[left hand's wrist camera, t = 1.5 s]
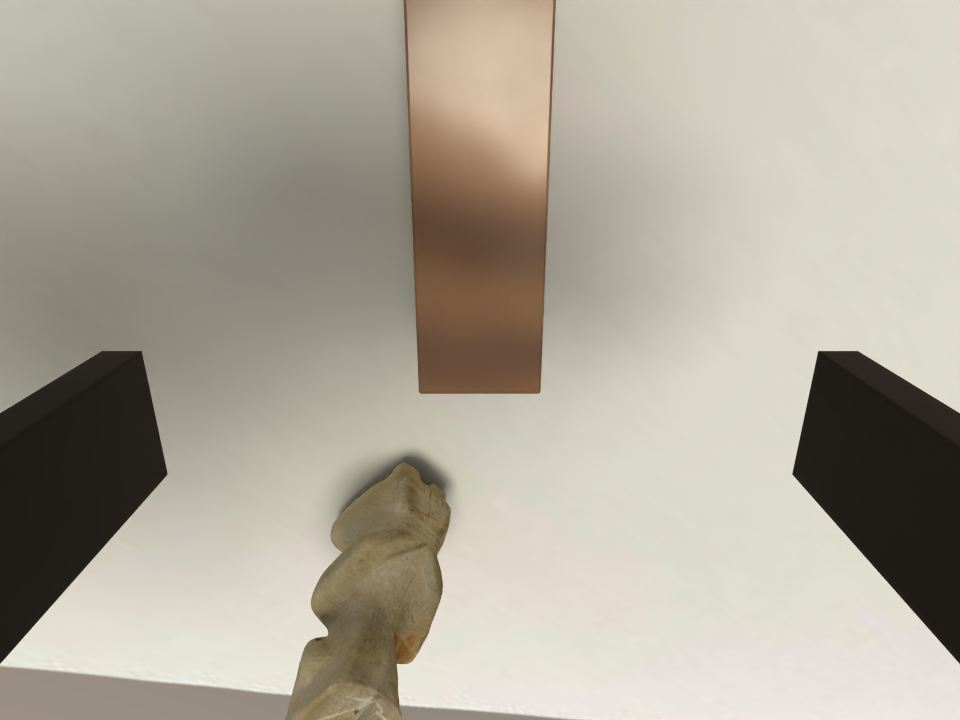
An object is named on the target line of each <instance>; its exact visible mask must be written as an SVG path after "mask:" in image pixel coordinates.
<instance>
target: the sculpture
mask: <svg viewBox="0 0 960 720" xmlns="http://www.w3.org/2000/svg"><path fill="white" fill-rule="evenodd" d="M450 513H451V511H450V507H449V505H448V504H447V502H446V501H445V494H444V492H443V491H442V490H441V489H440V488H439V487H438V486H436V485H435V484H434V483H430V484H427V485H426V484H424V483H423V482H422V480H421V477H420V474H419V472H418V470H417V469H415V468H414V467H412V466H411V465H409V464H407V463H405V462H402V463H400V464H399V465H397V466H396V467H395V468H394V469H393V471H392V473H391V474H390V475H389V476H388V477H387V478H386V479H384V480H382V481H381V482H379V483H377V484H375V485H373V486H372V487H371V488H369V489H368V490H367V491H366V492H364V493H363V494H362V495H361V496H360V497H358V498H357V499H356V500H355V501H354V502H353V503H351V504H350V505H349V506H348V507H347V508H346V509H345V511H344V512H343V513H342V514H341V515H340V516H339V517H338V519H337V520H336V521H335V523H334V524H333V526H332V530H331V540H332V542H333V544H334V545H335V547H336V548H338V549H339V550H340V551H342V552H343V553H342V554H341V555H340V556H339V557H338V558H337V559H336V560H335V561H334V562H333V563H332V564H331V565H330V566H329V567H328V568H327V569H326V571H325V572H324V573H323V575H322V576H321V577H320V579H319V581H318V583H317V585H316V587H315V590H314V592H313V595H312V599H311V608H312V610H313V612H314V614H315V615H316V616H317V617H318V618H319V620H320V621H321V622H322V623H323V624H324V625H325V627H326V628H327V629H328V636H327V637H319V638H315V639H312V640H310V641H309V642H308V643H307V645H306V646H305V648H304V651H303V654H302V658H301V661H300V664H299V669H298V674H297V678H296V681H295V685H294V689H293V692H292V696H291V700H290V705H289V709H288V713H287V717H286V719H285V720H401V717H402V715H401V711H400V709H399V697H398V674H397V664H408V663H410V662H412V661H413V660H414V658H415V657H416V655H417V654H418V652H419V650H420V648H421V646H422V644H423V642H424V641H425V639H426V637H427V635H428V633H429V630H430V627H431V623H432V621H433V619H434V616H435V613H436V611H437V608H438V605H439V603H440V600H441V596H442V589H443V582H442V575H441V570H440V566H439V563H438V559H437V554H438V552H439V550H440V548H441V547H442V545H443V542H444V539H445V536H446V534H447V530H448V527H449V522H450ZM396 663H397V664H396Z"/></svg>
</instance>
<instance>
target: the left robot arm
mask: <svg viewBox="0 0 960 720" xmlns="http://www.w3.org/2000/svg"><path fill="white" fill-rule="evenodd" d="M166 476H167V469H166V464H165V460H164V455H163V450H162V445H161V441H160V436H159V431H158V426H157V422H156V417H155V412H154V408H153V403H152V398H151V393H150V389H149V384H148V379H147V374H146V370H145V365H144V360H143V356H142V351H102V352H100V353H98V354H97V355H95V356H94V357H92V358H90V359H89V360H87V361H85V362H84V363H82V364H80V365H79V366H77V367H75V368H74V369H72V370H71V371H69V372H67V373H66V374H64V375H62V376H61V377H59V378H57V379H56V380H54V381H53V382H51V383H49V384H48V385H46V386H44V387H43V388H41V389H39V390H38V391H36V392H34V393H33V394H31V395H30V396H28V397H26V398H25V399H23V400H21V401H20V402H18V403H16V404H15V405H13V406H12V407H10V408H8V409H7V410H5V411H3V412H2V413H0V663H1V662H2V661H3V660H4V659H5V658H6V657H7V655H8V654H9V653H10V652H11V651H12V650H13V649H14V648H15V646H16V645H17V644H18V643H19V642H20V641H21V640H22V638H23V637H24V636H25V635H26V634H27V633H28V632H29V631H30V629H31V628H32V627H33V626H34V625H35V624H36V623H37V622H38V620H39V619H40V618H41V617H42V616H43V615H44V614H45V612H46V611H47V610H48V609H49V608H50V607H51V606H52V605H53V603H54V602H55V601H56V600H57V599H58V598H59V597H60V595H61V594H62V593H63V592H64V591H65V590H66V589H67V588H68V586H69V585H70V584H71V583H72V582H73V581H74V580H75V579H76V577H77V576H78V575H79V574H80V573H81V572H82V571H83V569H84V568H85V567H86V566H87V565H88V564H89V563H90V562H91V560H92V559H93V558H94V557H95V556H96V555H97V554H98V552H99V551H100V550H101V549H102V548H103V547H104V546H105V545H106V543H107V542H108V541H109V540H110V539H111V538H112V537H113V536H114V534H115V533H116V532H117V531H118V530H119V529H120V528H121V526H122V525H123V524H124V523H125V522H126V521H127V520H128V519H129V517H130V516H131V515H132V514H133V513H134V512H135V511H136V509H137V508H138V507H139V506H140V505H141V504H142V503H143V502H144V500H145V499H146V498H147V497H148V496H149V495H150V494H151V493H152V491H153V490H154V489H155V488H156V487H157V486H158V485H159V483H160V482H161V481H162V480H163V479H164V478H165V477H166ZM793 476H794V477H795V478H796V479H797V480H798V481H799V482H800V483H801V485H802V486H803V487H804V488H805V489H806V490H807V491H808V493H809V494H810V495H811V496H812V497H813V498H814V499H815V500H816V502H817V503H818V504H819V505H820V506H821V507H822V508H823V510H824V511H825V512H826V513H827V514H828V515H829V516H830V517H831V519H832V520H833V521H834V522H835V523H836V524H837V525H838V526H839V528H840V529H841V530H842V531H843V532H844V533H845V534H846V536H847V537H848V538H849V539H850V540H851V541H852V542H853V543H854V545H855V546H856V547H857V548H858V549H859V550H860V551H861V552H862V554H863V555H864V556H865V557H866V558H867V559H868V560H869V562H870V563H871V564H872V565H873V566H874V567H875V568H876V569H877V571H878V572H879V573H880V574H881V575H882V576H883V577H884V579H885V580H886V581H887V582H888V583H889V584H890V585H891V586H892V588H893V589H894V590H895V591H896V592H897V593H898V594H899V595H900V597H901V598H902V599H903V600H904V601H905V602H906V603H907V605H908V606H909V607H910V608H911V609H912V610H913V611H914V612H915V614H916V615H917V616H918V617H919V618H920V619H921V620H922V622H923V623H924V624H925V625H926V626H927V627H928V628H929V629H930V631H931V632H932V633H933V634H934V635H935V636H936V637H937V638H938V640H939V641H940V642H941V643H942V644H943V645H944V646H945V648H946V649H947V650H948V651H949V652H950V653H951V654H952V655H953V657H954V658H955V659H956V660H957V661H958V662H959V663H960V413H958V412H957V411H955V410H953V409H952V408H950V407H948V406H947V405H945V404H944V403H942V402H940V401H939V400H937V399H935V398H934V397H932V396H930V395H929V394H927V393H926V392H924V391H922V390H921V389H919V388H917V387H916V386H914V385H912V384H911V383H909V382H907V381H906V380H904V379H903V378H901V377H899V376H898V375H896V374H894V373H893V372H891V371H889V370H888V369H886V368H885V367H883V366H881V365H880V364H878V363H876V362H875V361H873V360H871V359H870V358H868V357H866V356H865V355H863V354H862V353H860V352H858V351H818V356H817V360H816V365H815V370H814V374H813V379H812V384H811V389H810V393H809V398H808V403H807V408H806V412H805V417H804V422H803V426H802V431H801V436H800V441H799V445H798V450H797V455H796V460H795V464H794V469H793Z"/></svg>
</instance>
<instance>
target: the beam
mask: <svg viewBox="0 0 960 720" xmlns="http://www.w3.org/2000/svg"><path fill="white" fill-rule="evenodd" d="M555 5H556V0H404V19H405V45H406V70H407V96H408V122H409V147H410V173H411V199H412V224H413V250H414V276H415V301H416V327H417V353H418V378H419V392H420V393H421V394H538V393H540V391H541V365H542V339H543V314H544V288H545V262H546V237H547V211H548V185H549V159H550V134H551V108H552V82H553V57H554V31H555Z"/></svg>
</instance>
